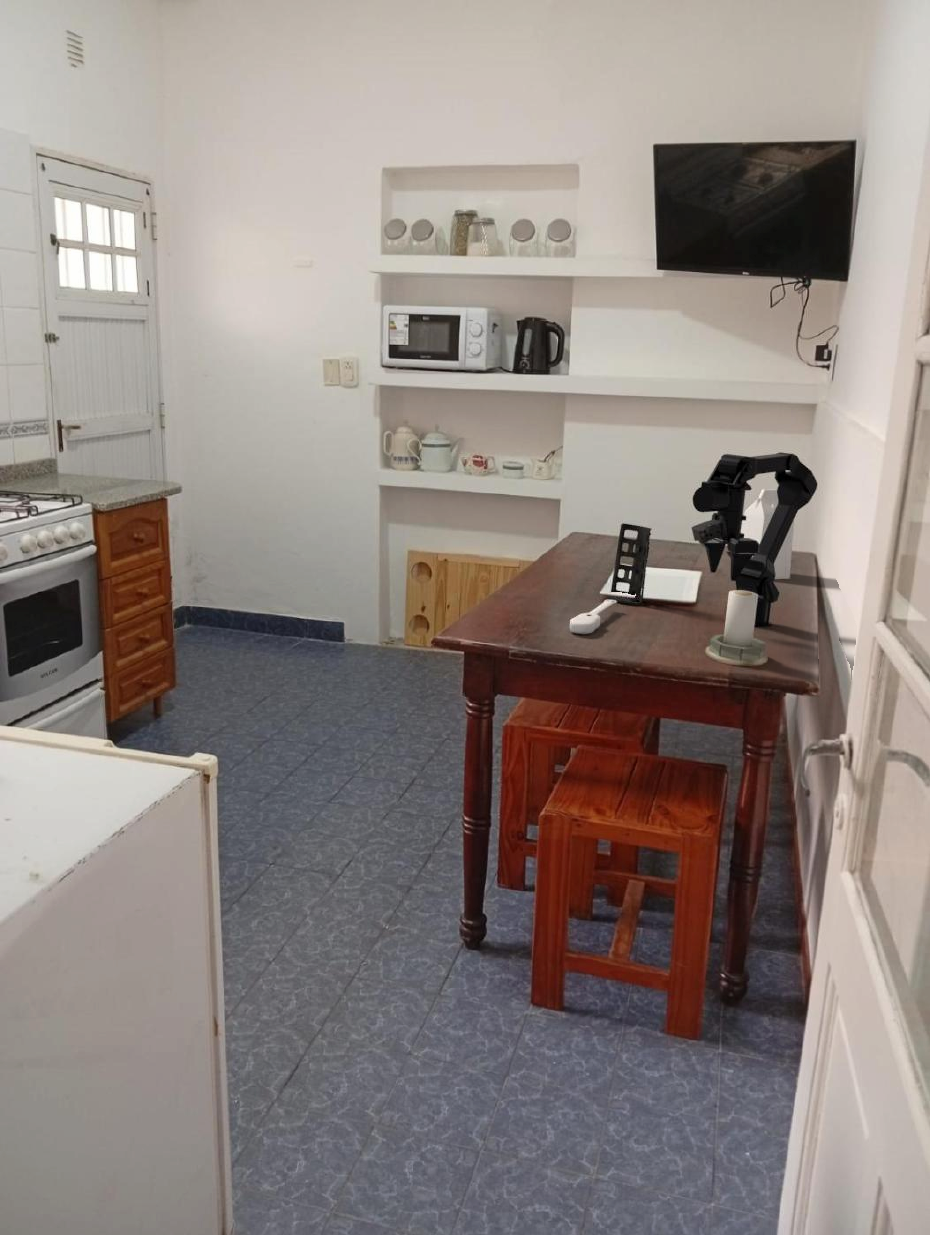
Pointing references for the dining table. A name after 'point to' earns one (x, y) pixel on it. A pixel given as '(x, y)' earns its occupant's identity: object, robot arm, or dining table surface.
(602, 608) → the white long handled piece
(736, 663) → the stand
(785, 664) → the dining table surface
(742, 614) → the paper roll
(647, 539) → the holder
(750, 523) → the milk
